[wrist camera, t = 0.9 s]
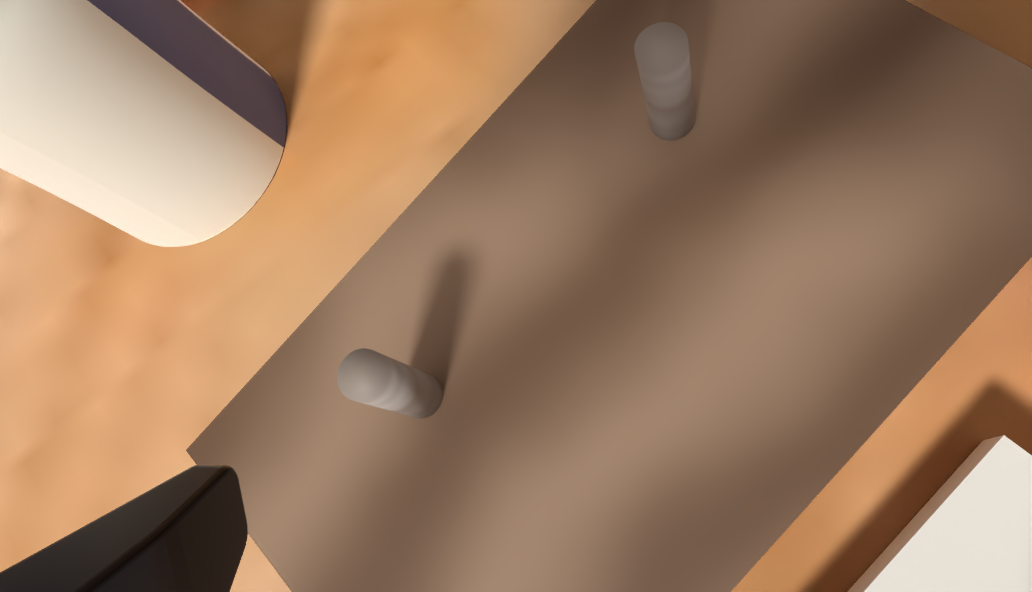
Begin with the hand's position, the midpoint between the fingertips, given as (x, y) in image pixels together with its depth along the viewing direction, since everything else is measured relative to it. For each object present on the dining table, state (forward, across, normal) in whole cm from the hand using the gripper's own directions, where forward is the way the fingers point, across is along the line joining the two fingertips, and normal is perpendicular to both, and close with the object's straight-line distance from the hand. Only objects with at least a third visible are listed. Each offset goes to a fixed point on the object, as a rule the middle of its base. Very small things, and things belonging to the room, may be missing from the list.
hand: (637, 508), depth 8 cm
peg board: (+12, -1, +4) cm, 13 cm away
